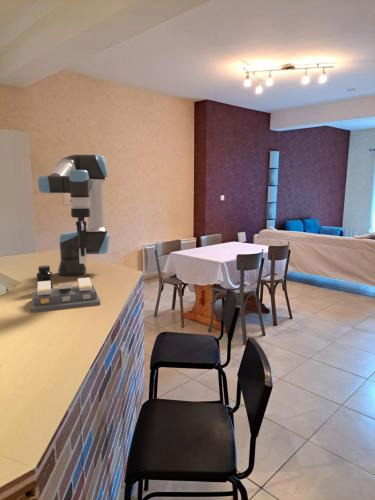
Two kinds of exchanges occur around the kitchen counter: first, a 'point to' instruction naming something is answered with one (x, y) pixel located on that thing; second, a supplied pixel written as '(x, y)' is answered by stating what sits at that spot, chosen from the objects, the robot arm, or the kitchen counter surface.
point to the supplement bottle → (44, 275)
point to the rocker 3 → (84, 284)
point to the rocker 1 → (44, 288)
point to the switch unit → (64, 299)
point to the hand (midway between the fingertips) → (82, 263)
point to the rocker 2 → (65, 285)
